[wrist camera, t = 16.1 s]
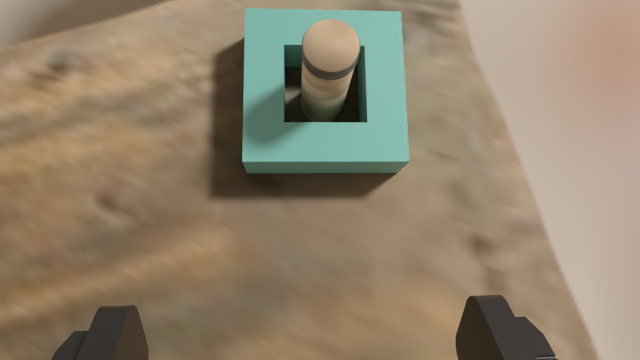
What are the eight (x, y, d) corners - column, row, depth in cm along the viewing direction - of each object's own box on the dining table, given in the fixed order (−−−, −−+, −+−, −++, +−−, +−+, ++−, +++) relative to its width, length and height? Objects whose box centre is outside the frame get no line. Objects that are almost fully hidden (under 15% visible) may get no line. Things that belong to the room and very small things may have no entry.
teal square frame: (247, 173, 33) (242, 161, 29) (249, 34, 35) (245, 8, 32) (397, 172, 34) (409, 161, 30) (390, 36, 36) (400, 11, 32)
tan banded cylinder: (300, 124, 34) (302, 71, 25) (299, 82, 35) (301, 17, 26) (344, 124, 34) (361, 72, 25) (343, 82, 35) (359, 18, 26)
